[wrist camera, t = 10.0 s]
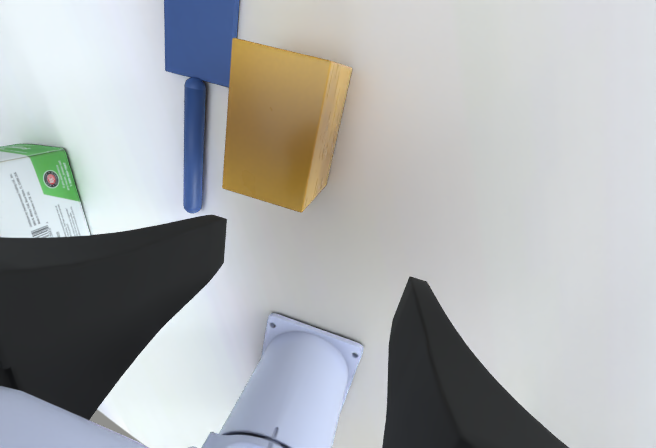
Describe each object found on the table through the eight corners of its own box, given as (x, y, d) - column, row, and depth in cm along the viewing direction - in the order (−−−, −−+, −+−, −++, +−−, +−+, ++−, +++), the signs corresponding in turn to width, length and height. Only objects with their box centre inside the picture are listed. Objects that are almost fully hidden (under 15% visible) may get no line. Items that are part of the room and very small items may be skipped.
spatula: (223, 218, 23) (214, 224, 22) (171, 201, 24) (160, 206, 23) (241, -24, 17) (230, -31, 16) (169, -39, 17) (153, -47, 16)
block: (326, 185, 20) (301, 213, 16) (262, 166, 21) (221, 188, 16) (352, 67, 17) (331, 60, 13) (276, 49, 18) (231, 37, 13)
